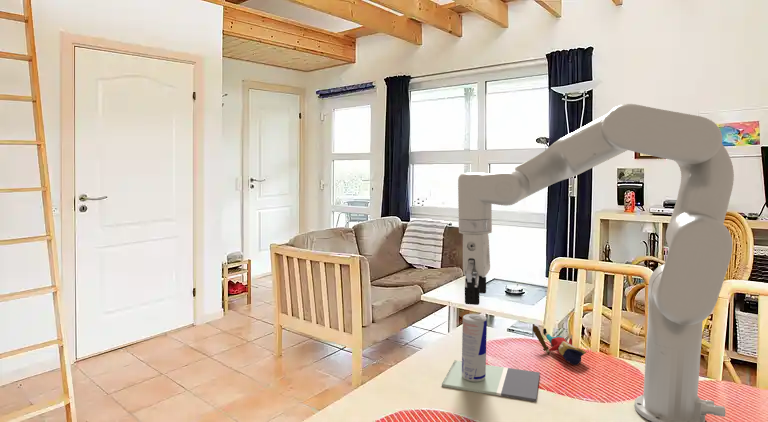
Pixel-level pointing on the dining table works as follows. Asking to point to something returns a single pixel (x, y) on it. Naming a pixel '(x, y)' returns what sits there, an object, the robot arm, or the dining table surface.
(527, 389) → the mat
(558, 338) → the toy
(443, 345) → the dining table surface
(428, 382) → the dining table surface
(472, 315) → the beverage can
